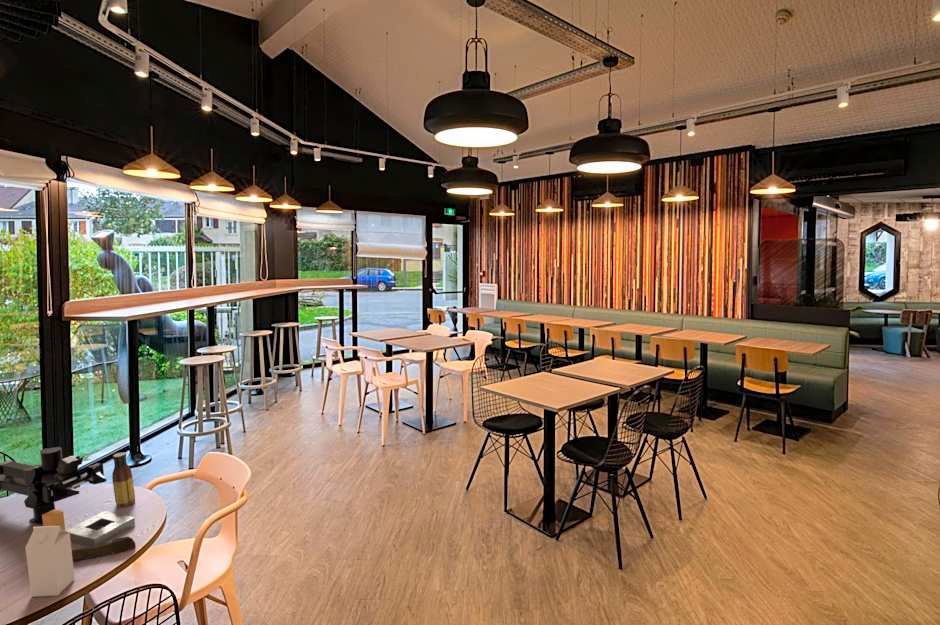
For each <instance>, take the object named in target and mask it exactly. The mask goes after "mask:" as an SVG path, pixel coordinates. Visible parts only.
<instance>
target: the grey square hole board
mask: <svg viewBox="0 0 940 625" xmlns="http://www.w3.org/2000/svg"><path fill="white" fill-rule="evenodd" d="M134 525H135V526H136V523H135V517H134V516H130V515H129V516H128V515H125V514H120V513H116V512H111V511H107V510H103V511H102V512H99V513H97V514H96V515H94V516H92V517H89V518H87V519H85V520H84V521H81V522H80V523H78V524H75V525H73V526H72V527H70V528H68V529H65V531H67V532H70V540H71V543H75V542H76V544H78V543H79V545H83V546H86V547H90V546H95V545H100V544H105V543H108V541H110V540H113V538H114V539H115V537H117V536H119V535H121V534H122V533H125V532H126V531H128V530H130V529H131V528H134V527H135V526H134ZM102 526H105V527H102ZM100 527H101V528H100ZM98 528H99V529H98Z"/></svg>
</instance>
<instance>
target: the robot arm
mask: <svg viewBox="0 0 940 625" xmlns="http://www.w3.org/2000/svg"><path fill="white" fill-rule="evenodd" d="M39 452H40V453H39V454H40V463H41V464H35V465H31V464H26V463H21V462H17V461H14V460H13V459H10V460H6V461H2V462H0V491H6V492H11V493H15V494H19V495H22V496H27V497H26V498H25V499H24V500H23V502H24V505H25V508H28V509H32V511H33V512H32V513H33V518H31V519H29V523H33V524H38V525H43V520H42V515H43V514H45V513H47V512H49V511H52V510H54V509H56V505H55V502H58V501H61V500H65V499H67V498H70V497H73V496H77V495H79V494H80V490H78V488H80V487H81V485H83V484H85V483H89V484H92V485H97V484H102V483H106V482H107V478H106V476H105V472H104V464H102V463H99V462H97V463H94V464H92V465H89V466H88V467H87V468H86V474H84V475H81V469H79V465H82V464H83V459H84V458H83V457H82V456H81V455H77V454H76V455H74V454H73V455H69V456H68V457H64V458H63V449H62V447H61V446H57V447H50V448H48V447H47V448H43V449H41V450H39Z"/></svg>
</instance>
